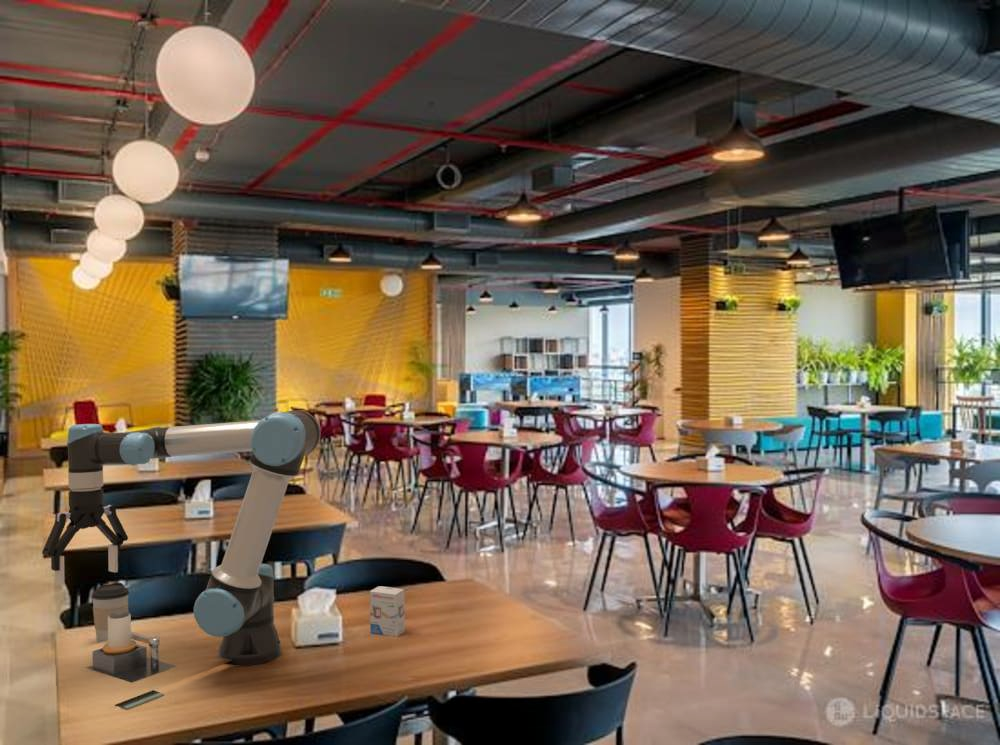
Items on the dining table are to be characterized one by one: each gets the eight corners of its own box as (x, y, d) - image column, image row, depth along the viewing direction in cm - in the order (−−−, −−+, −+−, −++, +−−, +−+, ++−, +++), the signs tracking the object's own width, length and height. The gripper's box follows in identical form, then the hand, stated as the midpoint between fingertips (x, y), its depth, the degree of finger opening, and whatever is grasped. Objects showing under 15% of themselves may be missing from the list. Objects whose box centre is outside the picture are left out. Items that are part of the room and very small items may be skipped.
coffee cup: (115, 648, 217) (114, 591, 217) (84, 646, 219) (83, 589, 219) (137, 637, 226) (136, 582, 226) (107, 635, 228) (106, 580, 228)
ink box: (369, 633, 228) (368, 590, 228) (378, 628, 233) (378, 585, 233) (396, 637, 225) (396, 593, 225) (405, 631, 230) (405, 588, 230)
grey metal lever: (162, 644, 200) (162, 637, 200) (153, 647, 198) (153, 640, 198) (116, 631, 210) (116, 625, 210) (107, 634, 208) (107, 627, 208)
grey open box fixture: (177, 672, 200) (176, 644, 200) (131, 689, 190) (131, 660, 190) (131, 658, 210) (130, 632, 210) (85, 673, 200) (85, 646, 200)
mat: (164, 695, 186) (164, 693, 186) (127, 709, 179) (127, 707, 179) (139, 687, 191) (139, 685, 191) (102, 701, 184) (102, 699, 184)
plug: (142, 663, 202) (141, 610, 202) (115, 673, 196) (114, 618, 196) (124, 658, 206) (123, 605, 206) (96, 667, 200) (96, 613, 200)
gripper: (124, 481, 213) (125, 564, 214) (24, 494, 192) (26, 587, 193) (142, 483, 209) (143, 568, 209) (42, 497, 188) (44, 591, 189)
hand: (87, 577), depth 201 cm, fingers open, 13 cm apart
